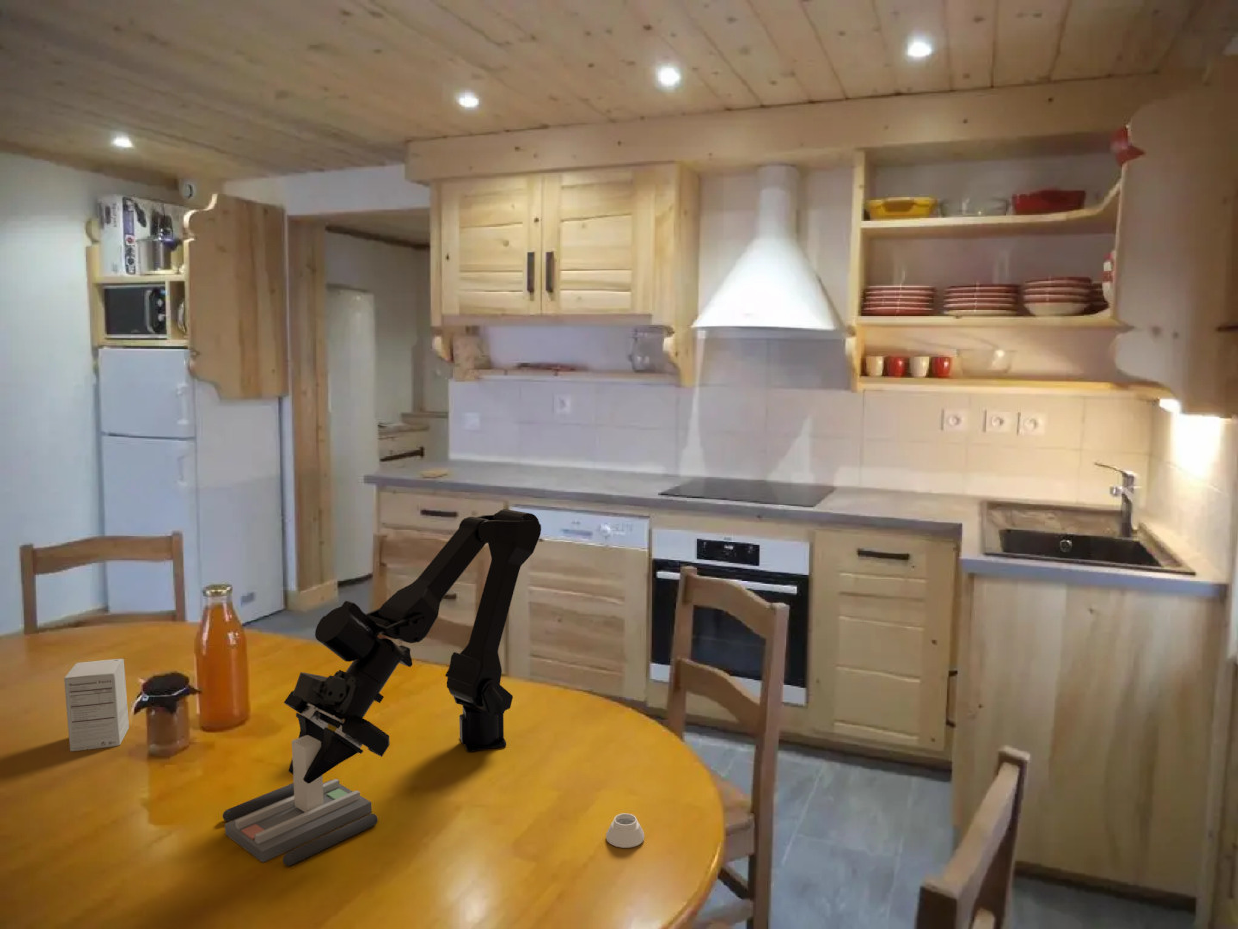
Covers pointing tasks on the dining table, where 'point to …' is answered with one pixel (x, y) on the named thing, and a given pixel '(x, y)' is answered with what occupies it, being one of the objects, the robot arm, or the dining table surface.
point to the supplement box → (96, 704)
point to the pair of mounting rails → (312, 846)
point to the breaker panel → (296, 821)
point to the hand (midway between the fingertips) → (298, 777)
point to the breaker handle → (302, 759)
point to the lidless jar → (625, 831)
